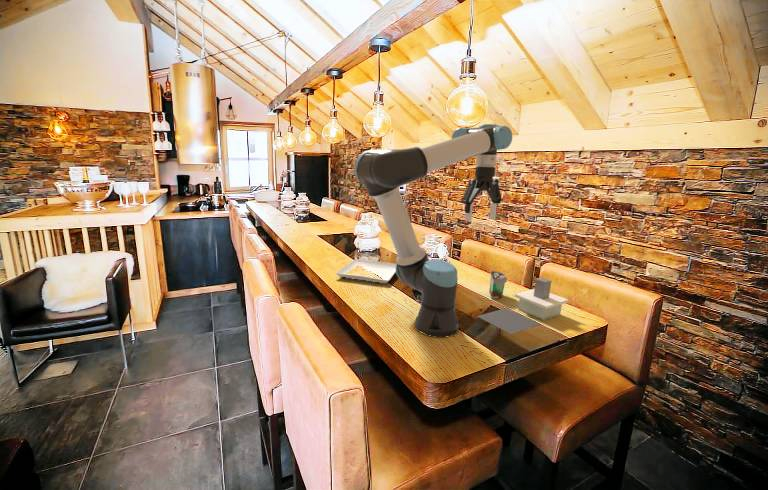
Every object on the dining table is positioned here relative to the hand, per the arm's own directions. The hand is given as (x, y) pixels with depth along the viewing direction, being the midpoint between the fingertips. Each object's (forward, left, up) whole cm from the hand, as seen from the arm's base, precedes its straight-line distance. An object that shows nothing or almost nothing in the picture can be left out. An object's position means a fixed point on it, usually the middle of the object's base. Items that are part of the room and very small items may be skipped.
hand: (480, 220), depth 143 cm
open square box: (+14, -22, -35) cm, 43 cm away
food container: (+13, -2, -35) cm, 37 cm away
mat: (-3, -21, -35) cm, 41 cm away
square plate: (-22, +50, -35) cm, 65 cm away
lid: (+14, -22, -29) cm, 39 cm away
